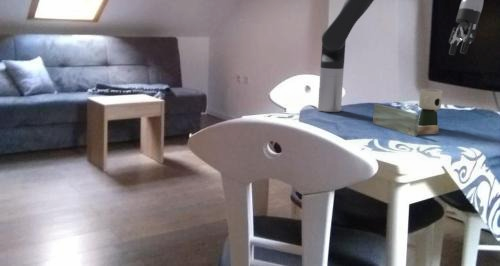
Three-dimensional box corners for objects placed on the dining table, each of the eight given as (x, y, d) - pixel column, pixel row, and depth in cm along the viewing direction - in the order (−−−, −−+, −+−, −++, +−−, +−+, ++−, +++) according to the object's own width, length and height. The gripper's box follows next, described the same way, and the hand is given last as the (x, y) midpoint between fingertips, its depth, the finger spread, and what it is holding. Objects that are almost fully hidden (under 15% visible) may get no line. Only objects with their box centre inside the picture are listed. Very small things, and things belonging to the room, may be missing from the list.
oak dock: (414, 136, 152) (416, 114, 151) (372, 123, 172) (374, 103, 171) (442, 134, 156) (444, 113, 155) (398, 121, 176) (400, 102, 175)
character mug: (433, 131, 161) (437, 92, 158) (411, 128, 165) (415, 90, 162) (442, 126, 170) (446, 89, 167) (422, 123, 174) (425, 87, 171)
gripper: (451, 10, 183) (438, 52, 184) (470, 4, 169) (457, 49, 170) (469, 16, 184) (457, 57, 185) (490, 10, 170) (476, 55, 171)
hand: (457, 54), depth 178 cm, fingers open, 8 cm apart
